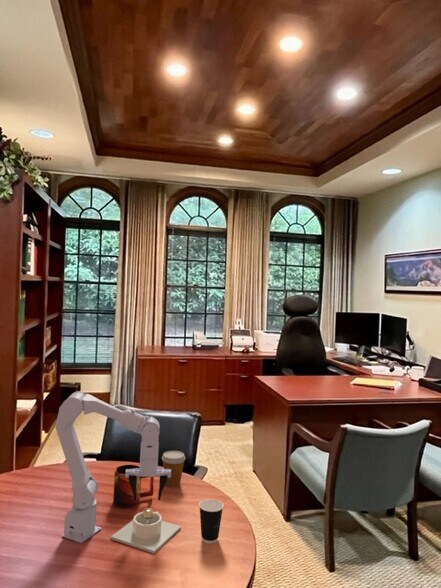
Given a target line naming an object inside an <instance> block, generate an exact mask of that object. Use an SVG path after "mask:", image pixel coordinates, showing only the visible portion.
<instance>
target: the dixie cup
mask: <svg viewBox="0 0 441 588" xmlns="http://www.w3.org/2000/svg"><path fill="white" fill-rule="evenodd" d="M224 506H225V505H224V503H223V502H222V501H220V500H218V499H215V498H207V499H203V500H201V501H199V504H198V507H199V517H200V534H201V535H200V536H201V539H202V540H201V541H202V542H203V543H205V544H210V545H211V544H212V545H213V544H215V543H216V542H218V538H219V534H220V529H221V522H222V521H221V520H222V516H223V510H224Z"/></svg>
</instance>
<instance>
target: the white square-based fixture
mask: <svg viewBox="0 0 441 588" xmlns="http://www.w3.org/2000/svg"><path fill="white" fill-rule="evenodd" d="M162 518H163V517H162V515H161V514H160V513H159V511H153V517H152V518H151V519H149V524H146V519H144V518H143V511H141V512H137V514H135V515H134V516H133V519H132V520H131V521H129V522H128V523H127V524H125V525H124V526H123V527H121V528H120V529H119V530H117V532H115V533H114V534H112V535H111V536H110V540H112V541H116V542H119V543H122V544H124V545H127V546H131V547H133V548H136V549H138V550H143V551H145V552H148V553H150V554H156V553H157V552H158V551H159V550H160V549H161V548H162V547H164V545H165V544H166V543H167V542H169V541H170V540H171V539H172V538H173V537H174V536H175V535H176V534H177V533H179V531H180V530H182V526H181V525H177V524H175V523H172V522H168V521H164V520H163V519H162Z"/></svg>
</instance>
